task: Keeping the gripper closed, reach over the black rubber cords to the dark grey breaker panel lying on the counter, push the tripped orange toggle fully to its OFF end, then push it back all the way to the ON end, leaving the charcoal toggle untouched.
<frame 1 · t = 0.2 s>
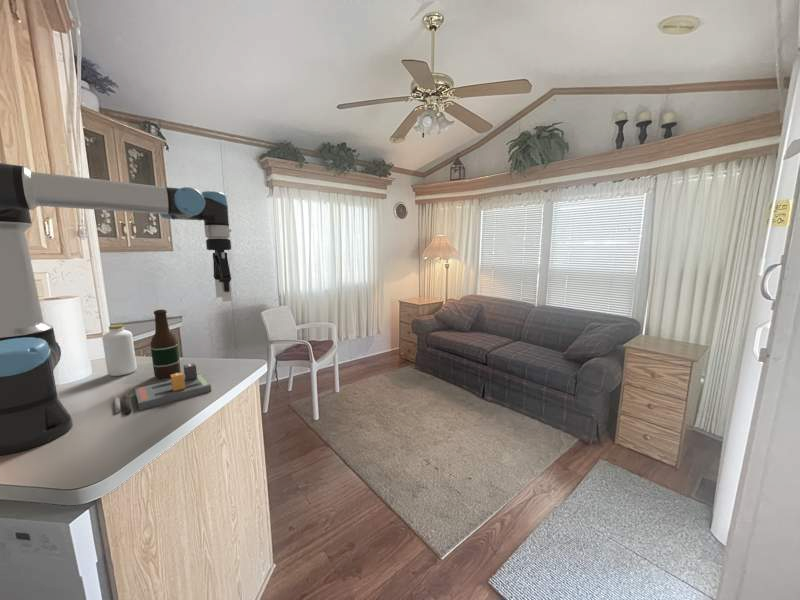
hand: (223, 299, 116), 27 cm above the countertop, fingers open, 13 cm apart
cord black near: (127, 406, 94), on the countertop
beer bottle: (168, 375, 118), on the countertop
breaker panel: (173, 392, 103), on the countertop
white plastic bottle: (123, 373, 121), on the countertop
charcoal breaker: (190, 371, 109), point 5 cm above the countertop, slide at 4.5 cm
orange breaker: (177, 381, 101), point 5 cm above the countertop, slide at 0.0 cm
cord grey near: (117, 406, 94), on the countertop
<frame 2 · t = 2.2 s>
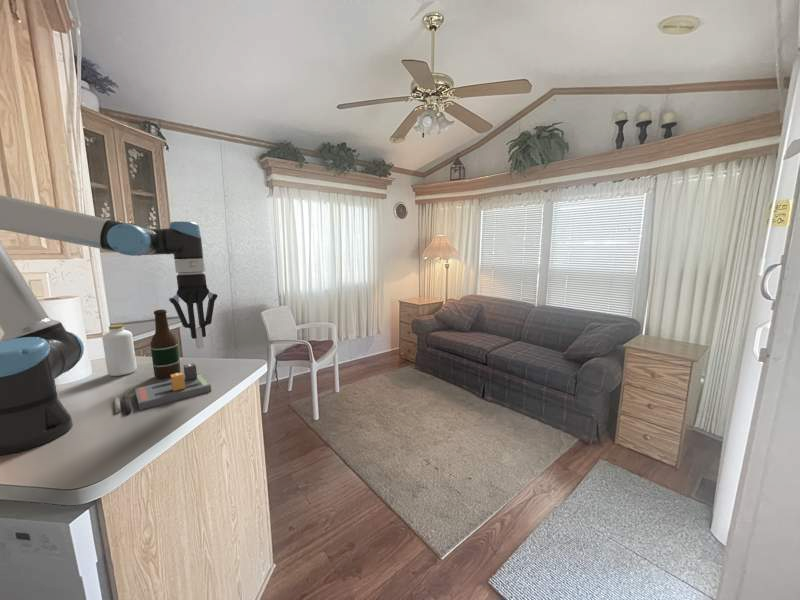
hand: (200, 347, 104), 14 cm above the countertop, fingers closed
nothing on the countertop moved.
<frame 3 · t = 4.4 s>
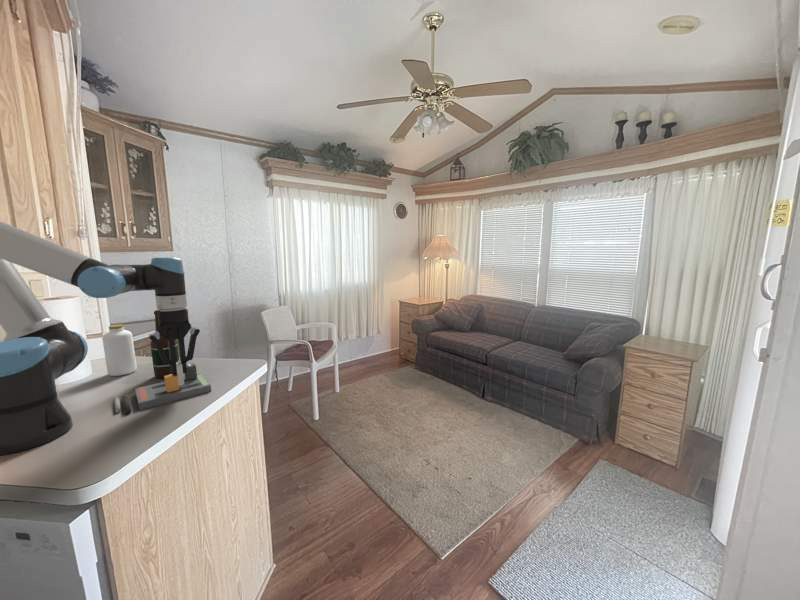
hand: (180, 383, 101), 3 cm above the countertop, fingers closed
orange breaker: (171, 382, 99), point 5 cm above the countertop, slide at -1.6 cm, touching gripper
everything else where it was.
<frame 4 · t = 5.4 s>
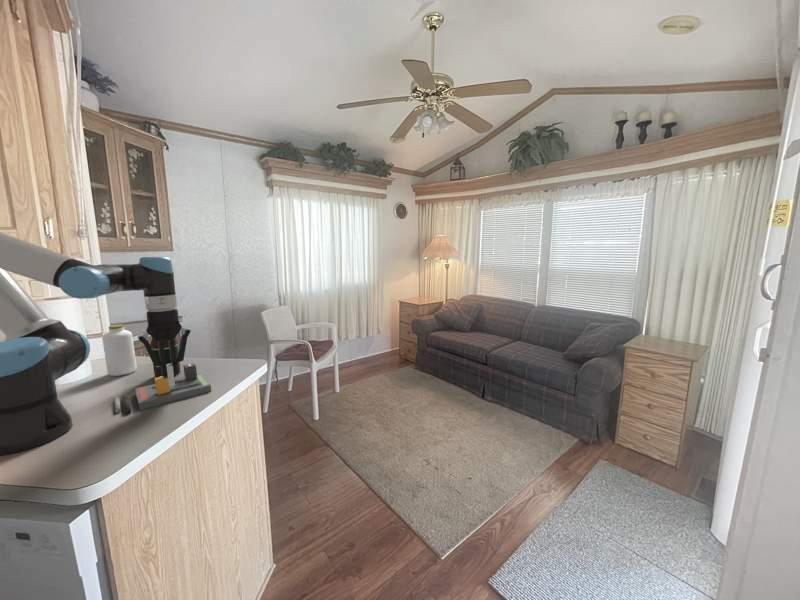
hand: (171, 385, 100), 4 cm above the countertop, fingers closed
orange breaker: (162, 384, 98), point 5 cm above the countertop, slide at -3.9 cm, touching gripper
everything else where it was.
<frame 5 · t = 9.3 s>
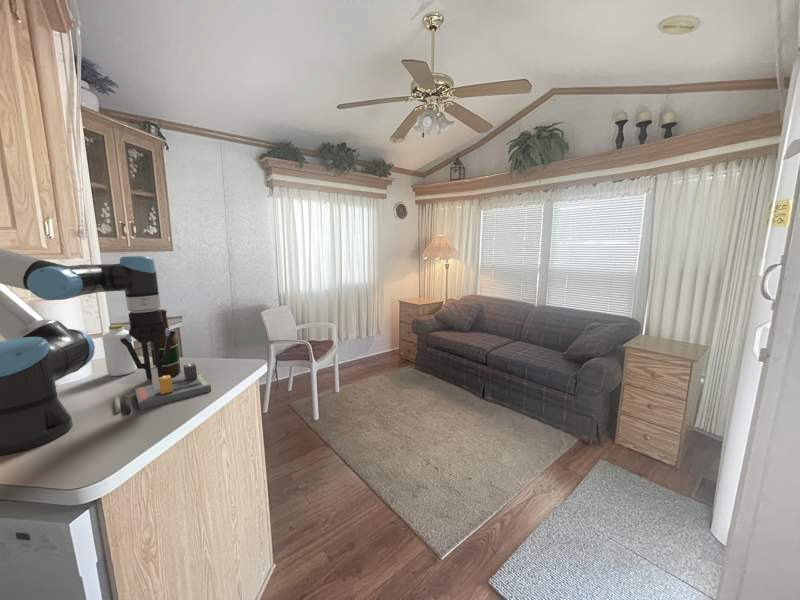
hand: (156, 388, 97), 4 cm above the countertop, fingers closed
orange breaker: (165, 384, 98), point 5 cm above the countertop, slide at -3.1 cm, touching gripper
everything else where it was.
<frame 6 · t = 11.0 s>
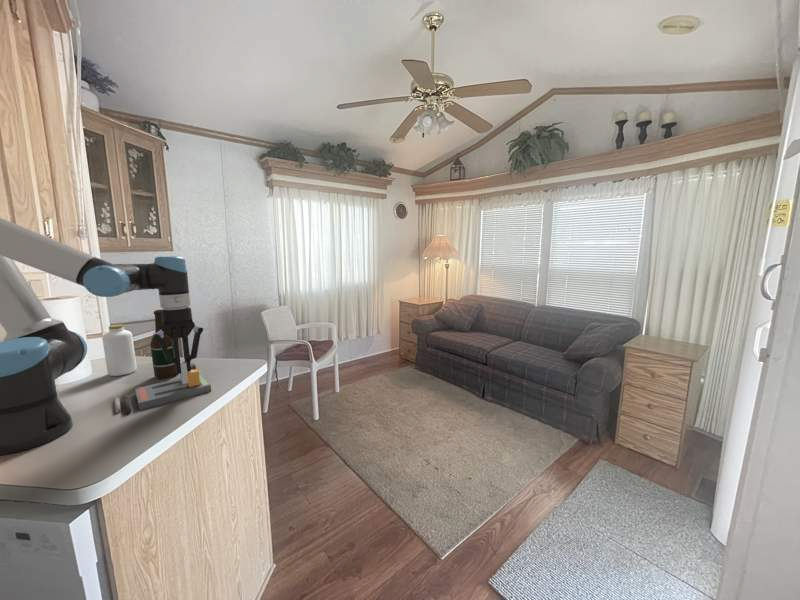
hand: (184, 382, 102), 4 cm above the countertop, fingers closed
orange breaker: (192, 377, 103), point 5 cm above the countertop, slide at 4.0 cm, touching gripper
everything else where it was.
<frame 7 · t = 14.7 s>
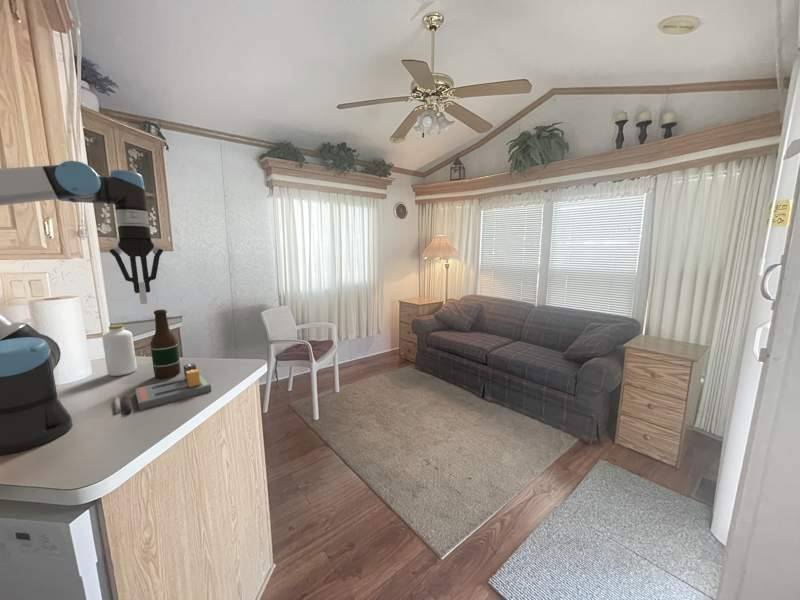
hand: (144, 303, 101), 28 cm above the countertop, fingers closed
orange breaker: (192, 377, 103), point 5 cm above the countertop, slide at 4.0 cm
everything else where it was.
at the end: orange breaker slide at 4.0 cm; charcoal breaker slide at 4.5 cm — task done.
